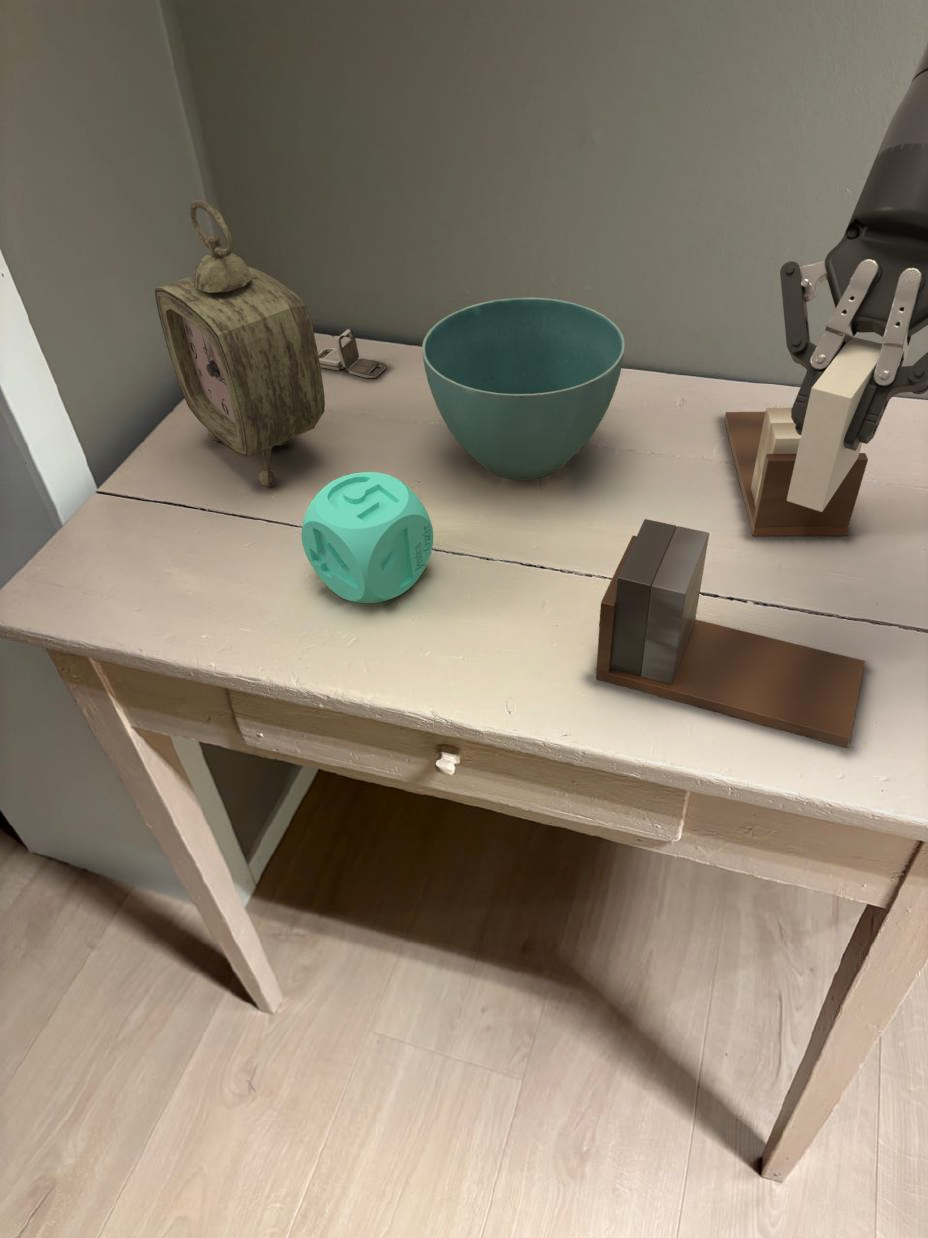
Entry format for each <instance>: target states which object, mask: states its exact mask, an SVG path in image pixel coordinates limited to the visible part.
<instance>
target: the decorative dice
mask: <svg viewBox="0 0 928 1238" xmlns="http://www.w3.org/2000/svg"><path fill="white" fill-rule="evenodd" d="M300 535H301V536H300V537H301V543H302V549H303V550H304V553H305V555H306V558H307V560H308V562H309V564H310V565H311V567H312V569H313V571H314V572H315V573H316V575H317V576H318V578H319V579H320V580H321V581H322V582H323V584H324V585H325V586H326V587H327V588H328V589H330V590H331V591H332V592H333V593H334V594H336V595H337V596H338V597H340V598H341V599H344V600H345V601H350V602H353V603H359V604H376V603H383V602H386V601H390V600H392V599H395V598H397V597H399V596H401V595H402V594H404V593H405V592H407V591H408V590H409V589H410V588H411V587H412V586H413V585H415V584H416V582H417V581H418V580H419V578H420V577H421V575H422V574H423V573H424V571H425V570H426V568H427V565H428V563H429V561H430V558H431V555H432V551H433V546H434V528H433V524H432V520H431V518H430V515H429V513H428V511H427V509H426V507H425V505H424V504H423V502H422V500H421V499H420V498H419V496H418V495H417V494H416V493H415V492H414V490H412V488H410V487H409V486H408V485H407V484H406V483H405V482H403V481H401V479H398V478H396V477H394V476H392V475H390V474H386V473H383V472H375V471H362V472H355V473H350V474H346V475H342V476H340V477H338V478H336V479H333V480H332V481H330V482H329V483H328V484H326V485H325V486H324V487H322V489H320V491H318V493H317V494H316V495H315V496H314V498H313V499H312V501H311V502H310V503H309V506H308V508H307V510H306V512H305V514H304V517H303V520H302V527H301V534H300Z"/></svg>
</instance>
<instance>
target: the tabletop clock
mask: <svg viewBox="0 0 928 1238" xmlns="http://www.w3.org/2000/svg"><path fill="white" fill-rule="evenodd" d="M198 209H201V210H203V211H204V212H206V213H207V214H209V216H211V217H212V218H213V219H214V220H215V221H216V222H217V224H218V226H219V227H220V228H221V231H222V233H223V234H224V236H225V238H226V243H227V247H226V248H224V247H222V244H221V239H220V237H219V236H218V235H216V234H211V235H209V236H208V235H206V234H205V232H204V230H202V229H201V227H200V225H199V223H198V219H197V210H198ZM189 215H190V220H191V223H192V226H193V228H194V231H195V232H196V234H197V236H198V238H199V240H200V241H201V242H202V243H203V245H204V246H205V247H206V248H207V249H208V250H209V252H210V254H207V255H205V256H204V257H202V258H201V259H200V260H199V261H198V263H197V264H196V266H195V268H194V271H193V275H191V276H189V277H185V278H182V279H180V280H177V281H174V282H171V283H168V284H165V285H162V286H159V287H156V288H154V295H155V304H156V308H157V312H158V317H159V321H160V326H161V329H162V332H163V336H164V340H165V345H166V347H167V351H168V354H169V357H170V361H171V363H172V366H173V370H174V373H175V377H176V379H177V382H178V385H179V388H180V391H181V393H182V396H183V398H184V400H185V402H186V405H187V407H188V408H189V410H190V411H191V413H192V414H193V415H194V417H196V419H197V421H199V422H200V424H202V426H203V427H204V428H206V429H207V436H208V438H209V439H210V440H212V441H213V442H218V441H219V442H221V443H222V444H223V445H224V446H226V447H227V448H228V449H230V450H231V451H232V452H234V453H235V454H237V455H238V456H240V457H242V458H247V459H249V458H251V457H253V456H255V455H257V454H259V453H262V461H263V470H262V471H261V472H260V473H259V475H258V479H259V482H260V484H261V485H262V486H264V487H271V486H273V485H274V484H275V483H276V481H277V476H276V473H275V472H274V471H273V470H272V469H271V461H272V459H271V458H272V455H271V454H272V450H273V447H275V446H285V445H287V444H288V443H289V440H291V439H294V438H295V437H298V436H300V435H302V434H304V433H307V432H309V431H311V430H314V429H315V427H316V426H317V424H318V422H319V421H320V419H321V418H322V417H323V415H324V413H325V407H326V399H325V398H326V397H325V388H324V381H323V375H322V368H321V367H320V361H319V356H318V353H319V351H318V346H317V341H316V335H315V332H314V327H313V323H312V320H311V316H310V314H309V311H308V308H307V305H306V304H305V302H303V300H302V299H301V297H300V296H298V294H297V293H295V292H294V291H292V290H291V289H289V288H288V287H287V286H286V285H284V284H283V283H282V282H280V281H278V280H276V278H274V277H272V276H270V275H268V274H267V273H265V272H263V271H261V270H259V269H257V268H254V267H251V266H247V264H246V262H245V261H244V260H243V259H242V258H241V257H240V256H238V255H237V254H235V253H233V251H234V241H233V237H232V234H231V231H230V228H229V226H228V224H227V222H226V220H225V219H224V217H223V215H222V214H221V213H220V211H219V210H218V209H217V208H216V207H214V206H213V205H212V204H210V203H209V202H207V201H205V200H204V199H203V200H202V199H196V200H193V201H192V202H191V203H190V207H189Z"/></svg>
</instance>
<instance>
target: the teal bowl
mask: <svg viewBox="0 0 928 1238" xmlns="http://www.w3.org/2000/svg"><path fill="white" fill-rule="evenodd" d="M625 344H626V342H625V337H624V335H623V333H622V330H621V329H620V328H619V326H618V325H617V324H616V323H615V322H614V321H613V320H612V319H610V318H609V317H607V316H606V315H604V314H603V313H601V312H599V311H597V310H595V309H592V308H590V307H588V306H585V305H582V304H578V303H575V302H571V301H568V300H561V299H556V298H546V297H511V298H502V299H501V298H500V299H494V300H489V301H484V302H479V303H476V304H473V305H469V306H467V307H464V308H462V309H459V310H456V311H455V312H452V313H450V314H448V315H446V316H445V317H443V318H442V319H440V320H439V321H438V322H436V323H435V324H434V325H433V326H432V327H431V328H430V329H429V330H428V332H427V333H426V335H425V337H424V338H423V341H422V344H421V353H422V360H423V367H424V370H425V375H426V380H427V382H428V386H429V389H430V392H431V395H432V398H433V400H434V403H435V405H436V407H437V410H438V411H439V414H440V416H441V417H442V419H443V421H444V423H445V425H446V426H447V428H448V430H449V431H450V433H451V434H452V436H453V437H454V439H455V440H456V441H457V442H458V444H459V445H460V446H461V447H462V449H464V451H466V452H467V454H469V455H470V456H471V457H472V458H473V459H474V460H475V461H476V462H477V463H478V464H480V465H481V466H482V467H483V468H484V469H486V470H487V471H489V472H490V473H492V474H494V475H496V476H499V477H502V478H506V479H511V480H518V481H519V480H522V481H523V480H524V481H526V480H533V479H539V478H543V477H546V476H548V475H551V474H553V473H555V472H557V471H558V470H559V469H561V468H562V467H563V466H565V465H566V464H567V463H568V462H569V461H570V460H571V459H572V458H573V457H575V455H577V454H578V452H580V451H581V449H583V447H584V446H585V445H587V443H588V442H589V440H590V439H591V438H592V436H593V435H594V434H595V432H596V431H597V430H598V427H599V426H600V424H601V422H602V421H603V419H604V417H605V415H606V413H607V411H608V409H609V407H610V404H611V403H612V400H613V398H614V395H615V392H616V389H617V386H618V384H619V383H618V382H619V380H620V376H621V372H622V368H623V362H624V358H625V357H624V356H625V349H626V347H625V346H626V345H625Z"/></svg>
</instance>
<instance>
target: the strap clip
mask: <svg viewBox="0 0 928 1238" xmlns="http://www.w3.org/2000/svg"><path fill="white" fill-rule="evenodd" d="M346 336H348V337H349V340H348V341H346V342H345V343H344V344H343V345H342V340H343V339H344V338H345V337H346ZM336 347H337V348H334V347H331V348H330V347H326V348H323V349H321V351H319V352H318V356H319V361H320V367H321V369H328V370H332V371H340V370H343V369H344V368H345V370H347V371H348V373H349V374H350V375H353V376H358V377H361V378H367V379H368V378H369V379H372V378H376V377H379V375H380V374H381V373H383V371H384V370H385V369H386V368H387V364H386V363H385V362H381V361H378V360H372V359H366V358H360V353H359V350H358V344H357V341H356V336H355V334H354V331H353V329H352V328H348V329H346V330H344V332H342V334H340V335H339V336H337V339H336ZM376 368H379V369H377V370H376V371H375V372H374V373H372V371H373V370H374V369H376Z"/></svg>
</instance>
